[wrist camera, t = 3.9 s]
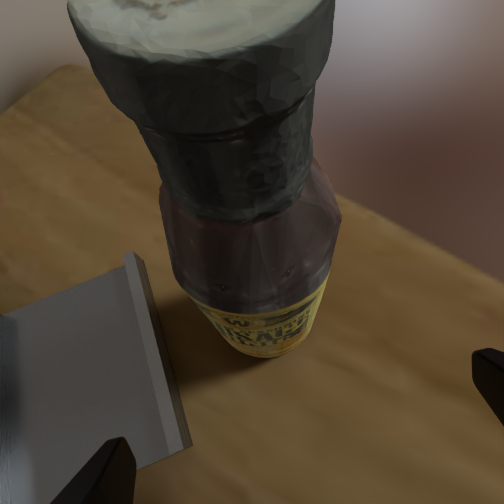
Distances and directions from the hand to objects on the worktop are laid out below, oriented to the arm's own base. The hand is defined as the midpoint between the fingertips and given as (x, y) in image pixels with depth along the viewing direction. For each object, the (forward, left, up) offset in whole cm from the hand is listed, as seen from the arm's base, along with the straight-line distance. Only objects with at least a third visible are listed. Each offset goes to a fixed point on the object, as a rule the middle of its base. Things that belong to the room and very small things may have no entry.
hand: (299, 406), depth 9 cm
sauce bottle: (+6, -1, -13) cm, 14 cm away
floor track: (+7, +12, -13) cm, 19 cm away
